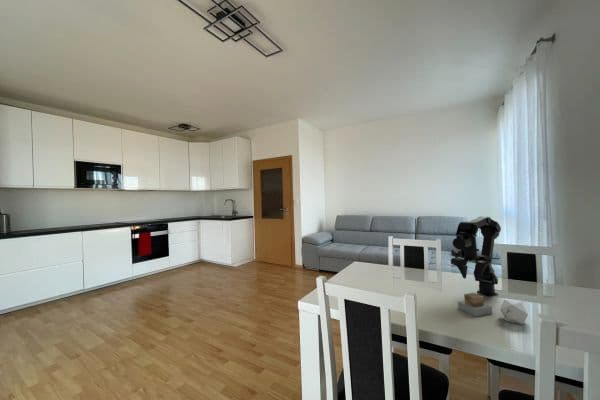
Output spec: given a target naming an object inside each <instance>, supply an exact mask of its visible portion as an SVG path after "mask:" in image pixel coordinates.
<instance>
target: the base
mask: <svg viewBox="0 0 600 400" xmlns="http://www.w3.org/2000/svg"><path fill="white" fill-rule="evenodd" d="M457 308H458V309H460V310H461V311H463V312H466V313H467V314H469V315H471V316H474V317H481V316H486V315H491V314H493V307H492V306H491V305H489V304H486V303H484V306H478V307H473V306H471V305H469V304H467V303H465V299H464V300H458V301H457Z"/></svg>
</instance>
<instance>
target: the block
mask: <svg viewBox="0 0 600 400" xmlns="http://www.w3.org/2000/svg"><path fill="white" fill-rule="evenodd" d="M463 295H464V300H465V303H467V304H469V305H471V306H473V307H478V306H484V304H485V301H484V296H482V295H480V294H477V293H474V292H469V293H464V294H463Z"/></svg>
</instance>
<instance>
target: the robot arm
mask: <svg viewBox="0 0 600 400" xmlns="http://www.w3.org/2000/svg"><path fill="white" fill-rule="evenodd" d="M501 230H502V227H501V225H500V224H499V222H498V221H497V220H496V221H495V220H494V219H492V218H491V217H490V216H477V218H474V219H471V220H470V221H460V222H459V224H458V225H457V229H456V233H455V236H456V237H455V238H453V240H452V246H453V247H454V248H455V249H452V250H450V254H451V257H452V258H451V259H450V264H451V265H453V266H455V267H456V268H457V269H458V270H459V272H460V274H461V276H462V278H463V279H467V273H468V267H469V266H468V265H467V264H468V263H475V265H474V270H473V276H474V277H473V278H474V281H476V282H478V290H476V292H477V293H479V294H481V295H484V296H487V297H491V296H492V297H493V296H497V295H499V294H498V293H497V292H496V291H495V290H496V288H495V285H498V283H499V278H498V277H497V276H496V273H495V270H494V268H493V266H492V260H493V256H494V255H493V254H494V253H493V252H494V246H495V245H494V244H495V240H496V239H497V238H498V237H499V236H500V232H501ZM479 231H480V234H481V236H482V237H483V238H482V239H483V240H482V247H481V252H480V253H481V254H478V252H479V251H480V248H478V247H477V246H478V245H477V238H476V237H477V236H478V235H477V233H478V232H479Z"/></svg>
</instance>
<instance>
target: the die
mask: <svg viewBox="0 0 600 400" xmlns="http://www.w3.org/2000/svg"><path fill="white" fill-rule="evenodd" d="M499 310H500V312H501V315H502V316H503V318H504V320H505V321H506V322H510V323H512V324H513V323H514V324H519V325H524V324H525V322H526V319H527V318H528V316H529V314H528V312H527V310H526V309H525V307H524V304H523V303H522V302H521V301H517V300H511V299H503V301H502V303H501V305H500V308H499Z"/></svg>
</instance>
